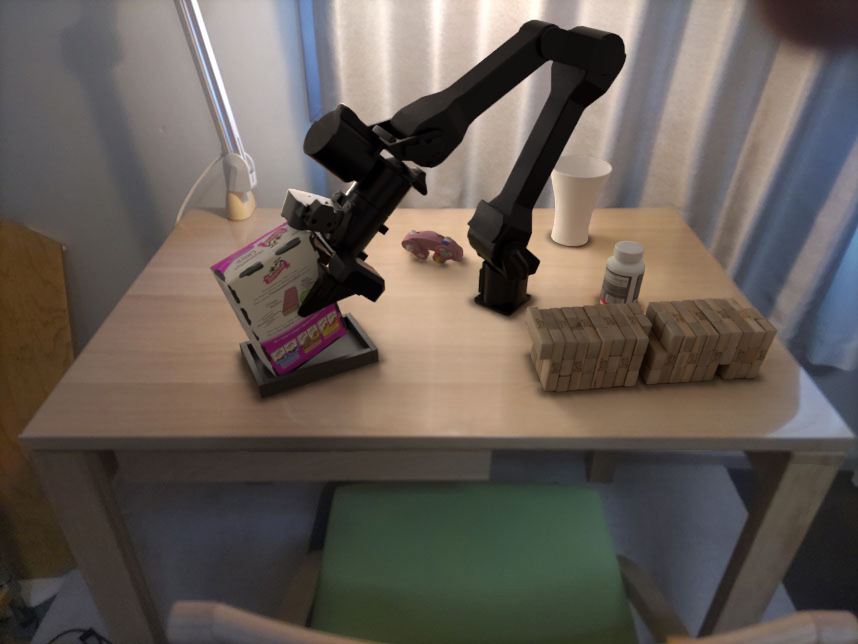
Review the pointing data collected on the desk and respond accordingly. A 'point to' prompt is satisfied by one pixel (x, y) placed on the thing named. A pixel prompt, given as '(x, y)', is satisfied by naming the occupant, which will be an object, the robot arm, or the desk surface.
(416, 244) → the video game controller
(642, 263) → the pill bottle
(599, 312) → the block tower
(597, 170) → the cup
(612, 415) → the desk surface
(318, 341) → the candy bar box
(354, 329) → the tray
